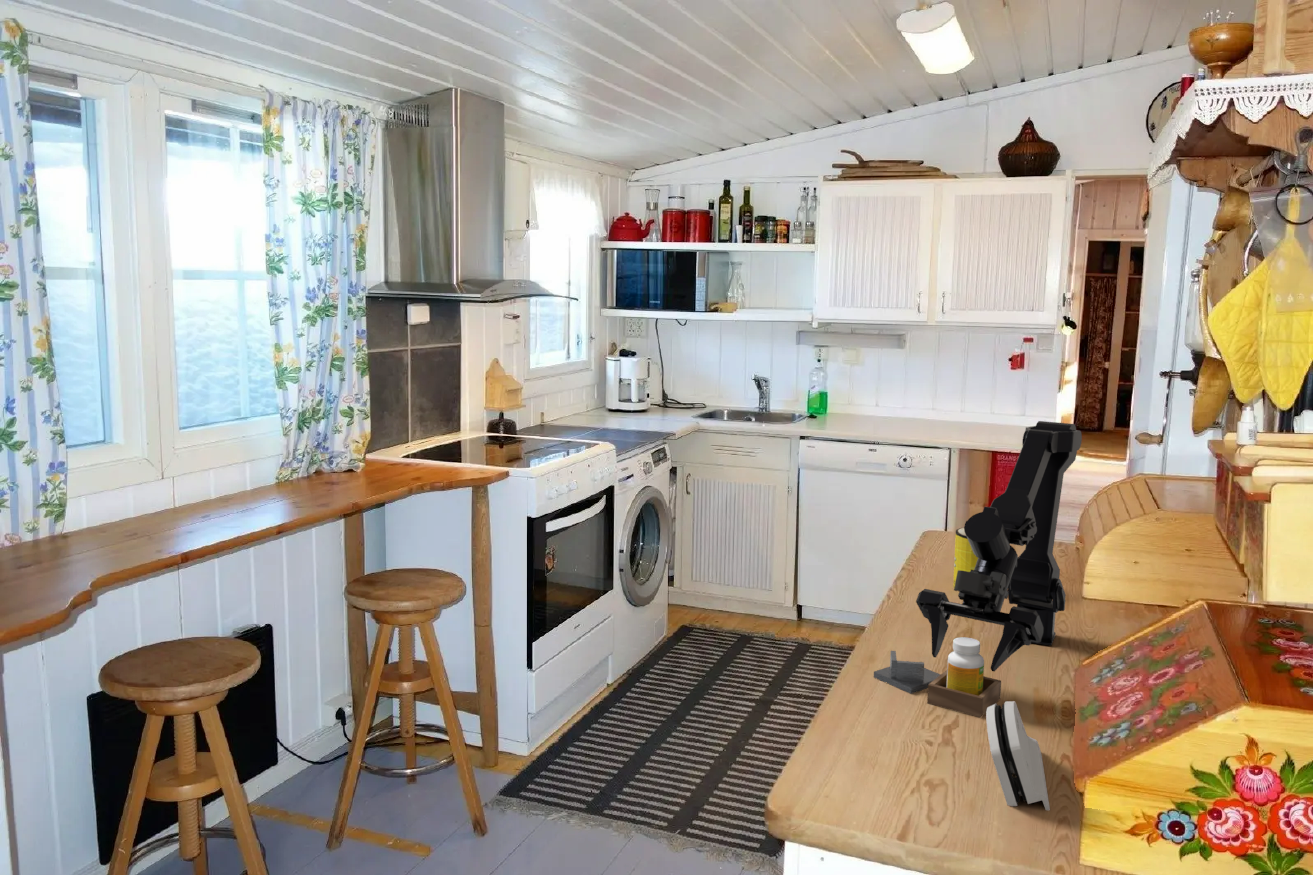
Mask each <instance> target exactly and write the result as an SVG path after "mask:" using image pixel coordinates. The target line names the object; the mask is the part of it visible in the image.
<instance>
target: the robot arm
mask: <svg viewBox="0 0 1313 875" xmlns="http://www.w3.org/2000/svg"><path fill="white" fill-rule="evenodd" d="M1082 441H1083V436H1082V431H1081V430H1077V426H1076V424H1075V423H1067V422H1066V423H1065V422H1055V421H1043V420H1038V421H1037V423H1036V425H1033V426H1028V427H1027V426H1026V427H1025V430H1024V433H1023V436H1022V444H1021V445H1022V447H1021V450H1020V453H1019V455H1018V457H1017V460H1016V463H1015V465H1014V469H1013V471H1012V474H1011V476H1010V479H1009V481H1008V484H1007V487H1006V489H1005V491H1004V492H1003V493H1002V494H1001V495H999V496H997V497H996V498H994V499H993V500H992V502H991V505H990V506H984V507H983V509H982V511H981V512H977V513H975V514H973V515H971V516H970V517H969V518H968V519H967V520H966V521H965V523H964V527H963V528H964V531H965V534H966V536H967V539H968V541H969V543H970V546H971V548H972V550H973V553H974V555H976V557H978V560H977V563H976V566H975V568H974V570H971V571H970V572H967V571H961V570H958V572H957V577H956V582H955V587H953V591H955V592H958V594H957V596H958V598H959V600H961V601H962V603H959V602H958V603H957V602H955V601H954V602H953V601H950V600H949V598H948V596H947V593H946V592H943V591H939V590H933V589H929V588H924V589H923V590H921V591H920V592H918V595H917V598H916V600H915V603H916V605H917V606H918V609H919V610H920V612H921V614H922V616H923V618H925V619H926V620H928V622H929V624H930V628H931V629H930V630H931V655H932V657H933V658H937V656H938V655H939V653H940V652H941V648H942V645H943V643H944V640H945V637H946V635H947V632H948V629H949V624H948V622H947V621H949V620H950V617H951V616H956V617H961V618H966V619H969V620H970V619H971V620H976V621H980V622H985V623H990V624H996V625H999V626H1003V630H1002V635H1001V638H1000V640H999V643H998V645H997V647H996V650H995V652H994V655H993V658H992V660H991V661H992V662H991V664H990V670H991V672H996V671H997V669H999V668H1000V666H1001V665H1003V663H1004V662H1006V661H1007V660H1008V659H1009V658H1010V657H1011V656H1012V655H1013V654H1014V653H1016V652H1017V651H1019V649H1020V648H1023V647H1024V646H1028V647H1029V646H1030V645H1031V644H1035V645H1036V644H1038V645H1044V646H1052V645H1053V643H1054V639H1055V637H1056V631H1055V624H1056V614H1057V613H1058V612H1064V611H1065V609H1066V596H1067V595H1066V591H1065V589H1064V586H1063V583H1062V580H1061V578H1060V574H1061V573H1060V572H1061V571H1060V567H1059V564H1058V563H1057V560H1056V558H1055V556H1054V544H1055V540H1056V539H1055V537H1056V531H1057V526H1058V525H1057V523H1058V516H1059V509H1060V503H1061V495H1062V489H1063V481H1064V475H1065V473H1066V471H1067V470H1068V469H1069V468H1071V466H1072V465H1073V463H1074V462H1075V461H1076V459H1077V453H1078V451H1079V450H1080V449H1081V445H1082ZM1012 545H1014V546H1019V547H1023V546H1025V548H1024V550H1023V551H1022V553H1021V554H1020V555H1019V556H1018V553H1017V551H1016V549H1015V548H1014V547H1013V546H1012ZM1005 599H1008V604H1010V605H1015V606H1012V607H1011V608H1010V610H1009V613H1008V612H1002V611H1001V610H1002V607H1003V605H1004V601H1005Z"/></svg>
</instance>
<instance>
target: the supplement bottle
mask: <svg viewBox="0 0 1313 875" xmlns="http://www.w3.org/2000/svg"><path fill="white" fill-rule="evenodd" d="M952 650H953V651H951V652H950V653H949V654H948V656H947V668H946V670H947V686H946V688H950V689H954V690H958V691H961V692H965V693H969V694H973V695H977V696H979V695H980V694H981V693H983V676H984V675H985V674H984V671H985V670H984V669H985V659H984V657H983V656H982V654H980V652H981V643H980V641H979V640H978V639H976V638H972V637H967V636H966V637H965V636H963V637H962V636H960V637H956V638H954V639H953V641H952Z"/></svg>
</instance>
